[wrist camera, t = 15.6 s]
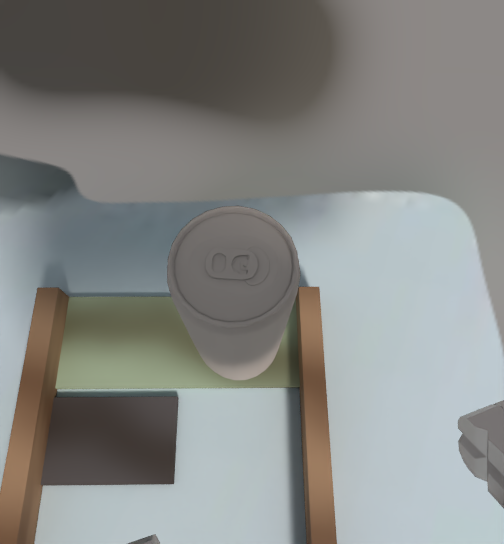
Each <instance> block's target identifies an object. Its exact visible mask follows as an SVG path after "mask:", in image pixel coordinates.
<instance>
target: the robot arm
mask: <svg viewBox="0 0 504 544" xmlns="http://www.w3.org/2000/svg"><path fill="white" fill-rule="evenodd" d="M458 429H459V430H460V431H461V432H462V433H463V434H462V435H461V437H460V439H459V441H458V444H459V452H460V454H461V457H462V459H463V461H464V463H465V464H466V466H467V467H468V469H469V470H470V471H471V472H472V474H473V475H474V476H475V477H477V478H479V479H482V480H484V481H487V486H488V492H489V493H490V494H491V495H492V496H493V497H494V498H495V499H496V500H497V501H498V503H499V504H500V505H501V506H502V507H503V508H504V400H503V401H500V402H498V403H495V404H493V405H489V406H486V407H484V408H481V409H479V410H476V411H474V412H471V413H469V414H466V415H464V416H461V417H460V418H459V420H458ZM128 544H160V542H159V540H158V538H157V536H156V534H154V535H151V536H148V537H145V538H142V539H139V540H136V541H134V542H131V543H128Z"/></svg>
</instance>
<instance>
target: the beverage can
mask: <svg viewBox="0 0 504 544" xmlns="http://www.w3.org/2000/svg"><path fill="white" fill-rule="evenodd" d="M299 280H300V268H299V259H298V255H297V250H296V248H295V245H294V243H293V241H292V238H291V236H290V235H289V234H288V233H287V231H286V230H285V229H284V227H283V226H282V225H281V224H280V223H278V222H277V221H276V220H274V219H273V218H272V217H271V216H269V215H267V214H265V213H263V212H260V211H258V210H256V209H253V208H247V207H242V206H226V207H219V208H216V209H212V210H209V211H206V212H204V213H202V214H201V215H199V216H197V217H195V218H194V219H192V220H191V221H190V222H189V223H188V224H187V225H186V226H185V227H184V228H183V229H181V231H180V232H179V234H178V235H177V237H176V239H175V240H174V242H173V244H172V247H171V250H170V254H169V257H168V266H167V283H168V286H169V290H170V293H171V297H172V300H173V302H174V304H175V306H176V308H177V310H178V312H179V314H180V317H181V319H182V321H183V323H184V325H185V327H186V329H187V331H188V333H189V335H190V337H191V339H192V341H193V343H194V345H195V347H196V349H197V350H198V352H199V354H200V356H201V357H202V359H203V360H204V362H205V363H206V365H207V366H208V367H210V368H211V369H212V370H213V371H214V372H215V373H217V374H219V375H221V376H222V377H224V378H228V379H231V380H247V379H250V378H253V377H256V376H258V375H259V374H261V373H262V372H264V371H265V370H266V369H267V368H268V367H269V366H270V365H271V363H272V362H273V360H274V358H275V356H276V354H277V352H278V349H279V346H280V343H281V340H282V337H283V334H284V331H285V328H286V325H287V322H288V319H289V316H290V313H291V310H292V307H293V304H294V301H295V298H296V295H297V292H298V286H299Z"/></svg>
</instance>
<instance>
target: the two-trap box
mask: <svg viewBox="0 0 504 544" xmlns="http://www.w3.org/2000/svg"><path fill="white" fill-rule="evenodd" d="M298 387H299V390H300V412H301V433H302V455H303V476H304V497H305V519H306V540H307V544H337V540H336V525H335V511H334V496H333V481H332V467H331V452H330V438H329V423H328V408H327V394H326V379H325V365H324V350H323V335H322V321H321V306H320V292H319V287H299V288H298V292H297V295H296V298H295V301H294V304H293V307H292V310H291V313H290V316H289V319H288V322H287V325H286V328H285V331H284V334H283V337H282V340H281V343H280V346H279V349H278V352H277V354H276V356H275V358H274V360H273V362H272V363H271V365H270V366H269V367H268V368H267V369H266V370H265V371H264V372H262V373H261V374H259V375H258V376H256V377H253V378H250V379H247V380H231V379H228V378H224V377H222V376H221V375H219V374H217V373H215V372H214V371H213V370H212V369H211V368H210V367H208V366H207V365H206V363H205V362H204V360H203V359H202V357H201V356H200V354H199V352H198V350H197V349H196V347H195V345H194V343H193V341H192V339H191V337H190V335H189V333H188V331H187V329H186V327H185V325H184V323H183V321H182V319H181V317H180V314H179V312H178V310H177V308H176V306H175V304H174V302H173V300H172V297H69V296H68V295H66V294H65V293H64V292H63V291H62V290H61V289H59V288H37V294H36V299H35V305H34V310H33V316H32V321H31V327H30V332H29V338H28V343H27V349H26V354H25V360H24V365H23V371H22V376H21V381H20V387H19V392H18V398H17V403H16V409H15V414H14V420H13V425H12V431H11V436H10V442H9V447H8V453H7V458H6V464H5V469H4V475H3V480H2V486H1V491H0V544H34V540H35V533H36V527H37V520H38V513H39V507H40V500H41V494H42V487H43V485H131V484H174V473H175V453H176V434H177V415H178V397H56V394H57V389H143V388H298Z"/></svg>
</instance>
